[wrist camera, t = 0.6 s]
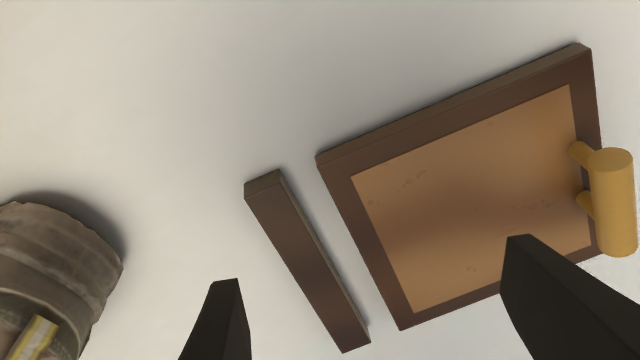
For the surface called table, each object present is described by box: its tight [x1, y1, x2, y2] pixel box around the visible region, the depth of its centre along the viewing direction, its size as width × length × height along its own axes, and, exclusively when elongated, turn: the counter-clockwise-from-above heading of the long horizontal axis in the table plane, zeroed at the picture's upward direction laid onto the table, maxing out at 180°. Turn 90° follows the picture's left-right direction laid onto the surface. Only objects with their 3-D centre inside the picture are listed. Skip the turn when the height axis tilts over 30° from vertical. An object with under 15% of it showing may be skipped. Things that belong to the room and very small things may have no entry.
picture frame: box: [315, 43, 638, 331], centre depth 23 cm, size 12×12×4 cm
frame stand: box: [244, 169, 371, 354], centre depth 26 cm, size 12×2×1 cm, turn 23°
